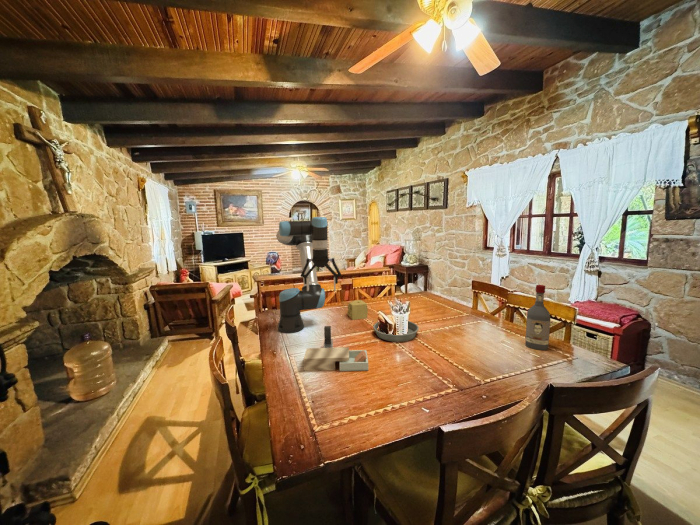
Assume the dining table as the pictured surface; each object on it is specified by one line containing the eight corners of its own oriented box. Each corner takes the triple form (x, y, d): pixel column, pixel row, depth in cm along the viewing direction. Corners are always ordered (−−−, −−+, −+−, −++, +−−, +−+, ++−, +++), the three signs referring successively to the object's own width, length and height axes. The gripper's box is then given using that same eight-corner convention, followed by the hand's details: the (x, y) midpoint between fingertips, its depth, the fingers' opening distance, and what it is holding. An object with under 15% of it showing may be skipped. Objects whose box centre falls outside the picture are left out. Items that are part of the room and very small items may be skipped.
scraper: (323, 355, 136) (322, 331, 134) (324, 346, 146) (324, 323, 144) (331, 355, 136) (331, 331, 134) (332, 346, 146) (332, 323, 144)
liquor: (525, 340, 147) (529, 282, 142) (547, 344, 142) (551, 284, 138) (525, 347, 139) (529, 286, 135) (548, 351, 134) (553, 288, 130)
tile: (363, 355, 124) (366, 358, 124) (362, 350, 128) (365, 353, 129) (354, 362, 124) (358, 366, 124) (354, 357, 129) (357, 360, 129)
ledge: (304, 371, 122) (303, 358, 121) (307, 359, 132) (306, 348, 131) (349, 369, 122) (348, 357, 121) (349, 358, 132) (348, 347, 131)
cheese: (347, 315, 193) (347, 301, 191) (362, 313, 196) (362, 299, 194) (352, 320, 183) (351, 305, 181) (368, 318, 186) (367, 303, 185)
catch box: (339, 371, 121) (339, 363, 120) (340, 357, 133) (340, 350, 132) (368, 370, 121) (368, 362, 121) (366, 357, 133) (366, 350, 132)
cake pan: (403, 323, 176) (403, 316, 175) (427, 338, 153) (428, 330, 152) (366, 330, 167) (366, 322, 166) (386, 346, 144) (386, 338, 144)
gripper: (293, 249, 139) (295, 292, 143) (345, 249, 140) (345, 291, 143) (296, 247, 147) (298, 288, 151) (345, 247, 147) (346, 287, 151)
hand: (321, 290), depth 147 cm, fingers open, 13 cm apart
